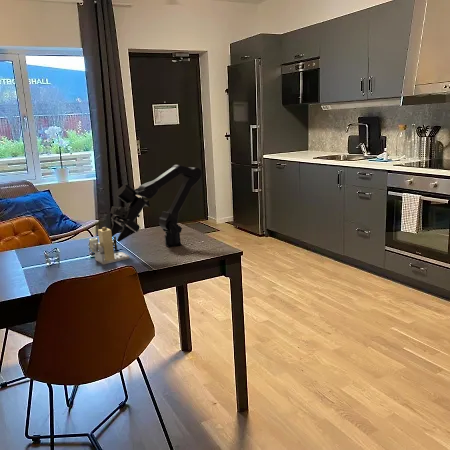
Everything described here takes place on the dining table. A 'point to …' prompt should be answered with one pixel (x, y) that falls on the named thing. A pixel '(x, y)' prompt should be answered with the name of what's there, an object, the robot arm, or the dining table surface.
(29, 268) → the dining table surface
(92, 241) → the valve
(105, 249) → the loose leaf
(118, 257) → the fixed leaf
